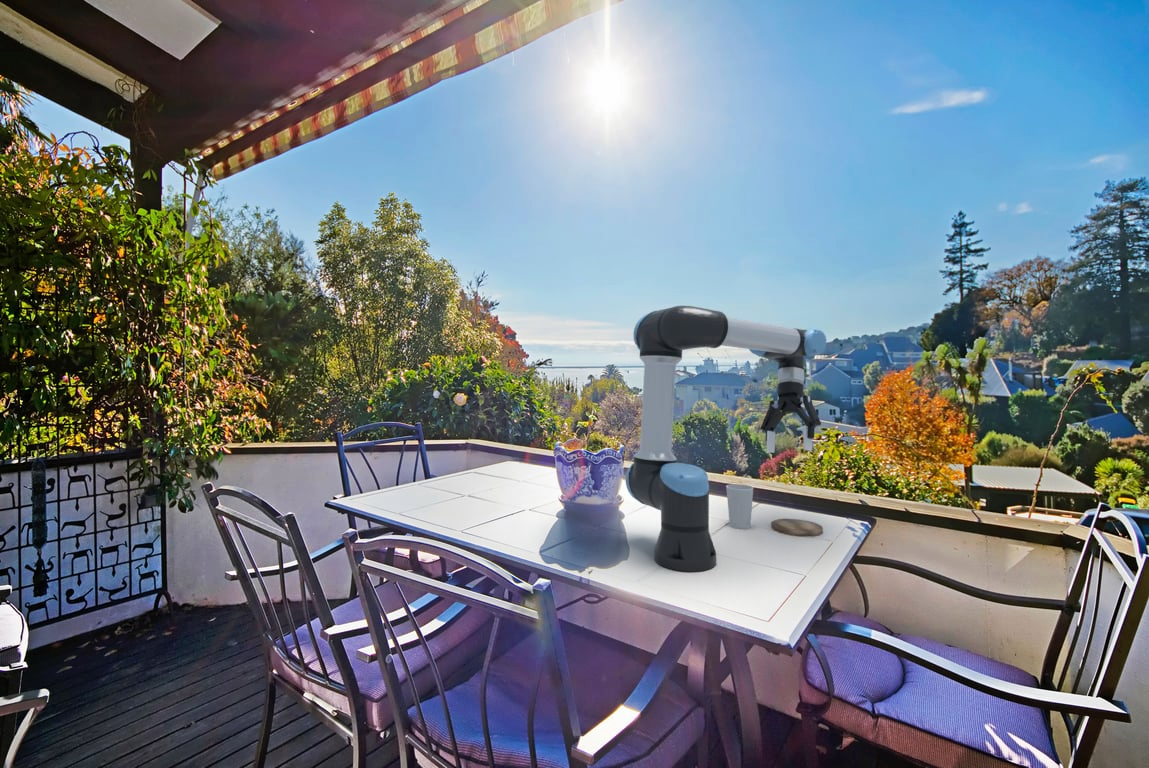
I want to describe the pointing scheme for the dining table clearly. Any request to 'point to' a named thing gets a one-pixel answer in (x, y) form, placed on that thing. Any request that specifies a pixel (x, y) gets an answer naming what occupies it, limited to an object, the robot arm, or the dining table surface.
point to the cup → (739, 505)
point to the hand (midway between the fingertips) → (788, 451)
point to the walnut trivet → (797, 527)
